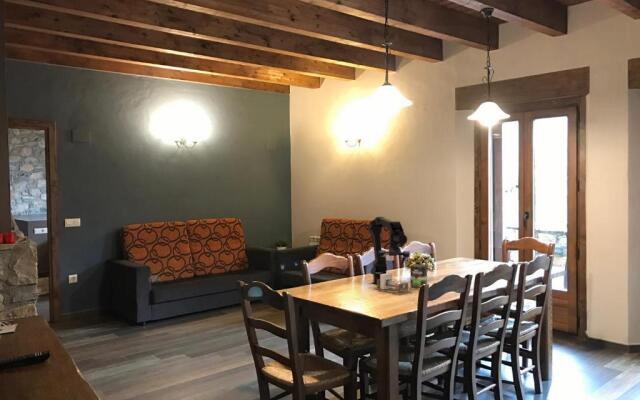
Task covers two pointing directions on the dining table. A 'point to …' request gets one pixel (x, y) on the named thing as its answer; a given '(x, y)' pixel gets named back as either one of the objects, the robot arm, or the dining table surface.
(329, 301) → the dining table surface
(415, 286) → the coffee can
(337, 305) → the dining table surface
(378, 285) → the wall mounted rod holder
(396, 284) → the pipe
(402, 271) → the dining table surface
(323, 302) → the dining table surface
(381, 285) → the collar
